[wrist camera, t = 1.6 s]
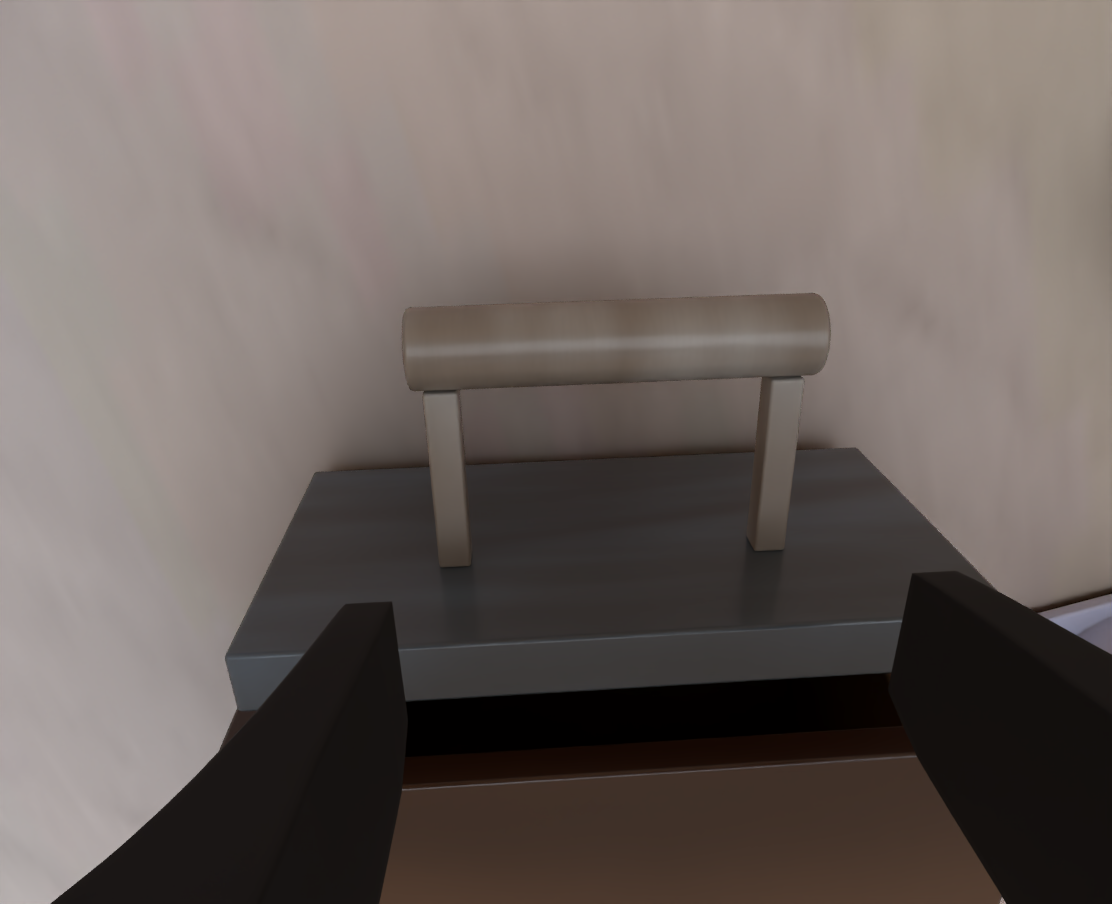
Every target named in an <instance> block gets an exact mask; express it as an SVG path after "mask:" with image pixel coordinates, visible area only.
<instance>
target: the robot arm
mask: <svg viewBox="0 0 1112 904" xmlns="http://www.w3.org/2000/svg"><path fill="white" fill-rule="evenodd" d="M888 692H889V695H890V697H891V699H892V702H893V704H894V706H895V709H896V711H897V713H898V716H899V718H900V720H901V723H902V725H903V728H904V730H905V732H906V734H907V736H908V738H909V740H910V743H911V745H912V747H913V749H914V751H915V753H916V755H917V758H918V760H919V761H920V763H921V765H922V766H923V768H924V770H925V771H926V773H927V775H928V777H929V778H930V780H931V782H932V783H933V785H934V787H935V788H936V790H937V791H938V793H939V795H940V796H941V798H942V800H943V801H944V803H945V805H946V806H947V808H948V810H949V811H950V813H951V815H952V816H953V818H954V819H955V821H956V823H957V824H958V826H959V828H960V829H961V831H962V832H963V834H964V836H965V837H966V839H967V841H968V842H969V844H970V845H971V847H972V849H973V850H974V852H975V853H976V855H977V857H978V858H979V860H980V862H981V863H982V865H983V866H984V868H985V870H986V871H987V873H988V875H989V876H990V878H991V879H992V881H993V883H994V884H995V886H996V887H997V889H998V891H999V892H1000V894H1001V896H1002V897H1003V899H1004V900H1005V902H1006V904H1112V594H1109V595H1105V596H1101V597H1097V598H1094V599H1090V600H1086V601H1082V602H1078V603H1075V604H1071V605H1067V606H1063V607H1059V608H1056V609H1052V610H1048V611H1044V612H1041V613H1036V612H1034V611H1033V610H1031V609H1029V608H1027V607H1025V606H1024V605H1022V604H1020V603H1018V602H1016V601H1015V600H1013V599H1011V598H1009V597H1007V596H1005V595H1003V594H1002V593H1000V592H998V591H996V590H994V589H992V588H990V587H989V586H987V585H985V584H983V583H981V582H979V581H977V580H975V579H973V578H971V577H969V576H966V575H964V574H962V573H960V572H958V571H941V572H922V573H912V576H911V580H910V585H909V590H908V595H907V600H906V605H905V609H904V614H903V619H902V624H901V629H900V633H899V638H898V643H897V648H896V653H895V658H894V662H893V667H892V672H891V677H890V682H889V686H888ZM407 727H408V716H407V708H406V701H405V694H404V686H403V679H402V671H401V664H400V657H399V649H398V642H397V634H396V627H395V620H394V612H393V605H392V601H389V602H370V603H352V604H345V605H344V606H343V607H342V608H341V609H340V610H339V611H338V612H337V613H336V615H335V616H334V617H333V618H332V620H331V621H330V622H329V623H328V625H327V626H326V627H325V628H324V630H323V631H322V632H321V634H320V635H319V636H318V637H317V639H316V640H315V641H314V642H313V644H312V645H311V646H310V647H309V649H308V650H307V651H306V652H305V654H304V655H303V656H302V657H301V659H300V660H299V661H298V662H297V664H296V665H295V666H294V667H293V668H292V670H291V671H290V672H289V673H288V675H287V676H286V677H285V678H284V679H283V680H282V682H281V683H280V684H279V685H278V686H277V687H276V689H275V690H274V691H273V692H272V693H271V694H270V696H269V697H268V698H267V699H266V700H265V701H264V703H263V704H262V705H261V706H260V707H259V708H258V710H257V711H256V712H255V713H254V714H253V715H252V716H251V718H250V719H249V720H248V721H247V722H246V723H245V724H244V725H243V727H242V728H241V729H240V730H239V731H238V732H237V733H236V734H235V735H234V736H233V737H232V738H231V739H230V740H229V741H228V742H227V743H226V745H225V746H224V747H223V748H222V749H221V750H220V751H219V752H218V753H217V754H216V755H215V756H214V757H213V758H212V759H211V760H210V761H209V762H208V764H207V765H206V766H205V767H204V768H203V769H202V770H201V771H200V772H199V773H198V774H197V775H196V776H195V777H194V778H193V779H192V780H191V781H190V782H189V783H188V784H187V785H186V786H185V787H184V788H183V789H182V790H181V791H180V792H179V793H178V794H177V795H176V796H175V797H174V798H173V799H172V800H171V801H170V802H169V803H168V804H167V805H165V806H164V807H163V808H162V809H161V810H160V811H159V812H158V813H157V814H156V815H155V816H154V817H153V818H152V819H151V820H149V821H148V822H147V823H146V824H145V825H144V826H143V827H142V828H141V829H140V830H138V831H137V832H136V833H135V834H134V835H133V836H132V837H131V838H130V839H128V840H127V841H126V842H125V843H124V844H123V845H122V846H121V847H119V848H118V849H117V850H116V851H115V852H114V853H112V854H111V855H110V856H109V857H108V858H107V859H105V860H104V861H103V862H102V863H101V864H99V865H98V866H97V867H96V868H94V869H93V870H92V871H91V872H89V873H88V874H87V875H86V876H84V877H83V878H82V879H81V880H79V881H78V882H77V883H76V884H74V885H73V886H72V887H71V888H69V889H68V890H67V891H66V892H64V893H63V894H62V895H61V896H59V897H58V898H57V899H56V900H54V901H53V902H52V903H51V904H379V902H380V898H381V893H382V888H383V883H384V878H385V873H386V868H387V864H388V859H389V854H390V849H391V844H392V839H393V834H394V829H395V824H396V819H397V814H398V809H399V804H400V799H401V794H402V784H403V773H404V763H405V751H406V739H407Z"/></svg>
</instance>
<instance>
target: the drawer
mask: <svg viewBox="0 0 1112 904" xmlns="http://www.w3.org/2000/svg"><path fill="white" fill-rule="evenodd" d="M830 337H831V329H830V318H829V313H828V309H827V306H826V303H825V301H824V300H823V298H822V297H821V296H820V295H818V294H815V293H799V294H771V295H743V296H715V297H687V298H660V299H632V300H604V301H576V302H548V303H521V304H493V305H465V306H437V307H410V308H407V309H405V312H404V315H403V320H402V352H403V363H404V371H405V376H406V380H407V384H408V386H409V388H410V390H412V391H424V393H423V407H424V417H425V427H426V437H427V447H428V457H429V467H417V468H395V469H373V470H351V471H329V472H316V473H315V474H314V476H313V478H312V480H311V482H310V484H309V486H308V488H307V490H306V492H305V494H304V496H303V498H302V500H301V502H300V504H299V506H298V508H297V510H296V512H295V514H294V517H293V519H292V521H291V523H290V525H289V527H288V529H287V531H286V533H285V535H284V537H283V539H282V541H281V543H280V545H279V547H278V549H277V551H276V553H275V555H274V557H273V559H272V561H271V563H270V565H269V567H268V570H267V572H266V574H265V576H264V578H263V580H262V582H261V584H260V586H259V588H258V590H257V592H256V594H255V596H254V598H253V600H252V602H251V604H250V606H249V608H248V610H247V612H246V614H245V616H244V618H243V621H242V623H241V625H240V627H239V629H238V631H237V633H236V635H235V637H234V639H233V641H232V643H231V645H230V647H229V649H228V651H227V653H226V656H225V661H226V665H227V669H228V672H229V676H230V680H231V684H232V688H233V692H234V696H235V700H236V704H237V708H238V710H239V711H257V710H258V708H259V707H260V706H261V705H262V704H263V703H264V701H265V700H266V699H267V698H268V697H269V696H270V694H271V693H272V692H273V691H274V690H275V689H276V687H277V686H278V685H279V684H280V683H281V682H282V680H283V679H284V678H285V677H286V676H287V675H288V673H289V672H290V671H291V670H292V668H293V667H294V666H295V665H296V664H297V662H298V661H299V660H300V659H301V657H302V656H303V655H304V654H305V652H306V651H307V650H308V649H309V647H310V646H311V645H312V644H313V642H314V641H315V640H316V639H317V637H318V636H319V635H320V634H321V632H322V631H323V630H324V628H325V627H326V626H327V625H328V623H329V622H330V621H331V620H332V618H333V617H334V616H335V615H336V613H337V612H338V611H339V610H340V609H341V608H342V607H343V606H344V605H345V604H352V603H370V602H389V601H392V605H393V612H394V620H395V627H396V634H397V642H398V649H399V657H400V664H401V671H402V679H403V686H404V694H405V701H406V708H407V716H408V727H407V739H406V751H405V757H415V756H431V755H447V754H463V753H479V752H495V751H511V750H526V749H542V748H558V747H574V746H590V745H606V744H622V743H638V742H654V741H670V740H686V739H702V738H718V737H734V736H750V735H766V734H782V733H798V732H814V731H830V730H846V729H862V728H878V727H894V726H903V725H902V723H901V720H900V718H899V716H898V713H897V711H896V709H895V706H894V704H893V702H892V699H891V697H890V695H889V692H888V686H889V682H890V677H891V672H892V667H893V662H894V658H895V653H896V648H897V643H898V638H899V633H900V629H901V624H902V619H903V614H904V609H905V605H906V600H907V595H908V590H909V585H910V580H911V576H912V573H922V572H941V571H958V572H960V573H962V574H964V575H966V576H969V577H971V578H973V579H975V580H977V581H979V582H981V583H983V584H985V585H987V586H989V587H990V588H992V589H994V590H996V589H995V588H994V587H993V586H992V585H991V584H990V583H989V582H988V581H987V580H986V579H985V578H984V577H983V576H982V575H981V574H980V573H979V572H978V571H977V570H976V569H975V568H974V567H973V566H972V565H971V564H970V563H969V562H968V561H967V560H966V559H965V558H964V556H963V555H962V554H961V553H960V552H959V551H958V550H957V549H956V548H955V547H954V546H953V545H952V544H951V543H950V542H949V541H948V540H947V539H946V538H945V537H944V536H943V535H942V534H941V533H940V532H939V531H938V530H937V529H936V528H935V527H934V526H933V525H932V524H931V523H930V522H929V521H928V520H927V519H926V518H925V517H924V516H923V515H922V514H921V513H920V512H919V511H918V510H917V509H916V508H915V507H914V506H913V505H912V504H911V503H910V502H909V500H908V499H907V498H906V497H905V496H904V495H903V494H902V493H901V492H900V491H899V490H898V489H897V488H896V487H895V486H894V485H893V484H892V483H891V482H890V481H889V480H888V479H887V478H886V477H885V476H884V475H883V474H882V473H881V472H880V471H879V470H878V469H877V468H876V467H875V466H874V465H873V464H872V463H871V462H870V461H869V460H868V459H867V458H866V457H865V456H864V455H863V454H862V453H861V452H860V451H859V450H858V449H857V448H834V449H812V450H796V447H797V439H798V431H799V422H800V414H801V406H802V398H803V390H804V382H805V381H804V378H803V377H802V376H803V375H815V374H817V373H818V372H820V371H821V370H822V368H823V367H824V365H825V363H826V360H827V357H828V353H829V347H830ZM754 377H762V381H761V391H760V402H759V412H758V422H757V432H756V443H755V452H747V453H725V454H703V455H681V456H659V457H637V458H615V459H593V460H571V461H549V462H527V463H505V464H483V465H466V463H465V451H464V438H463V425H462V412H461V400H460V390H461V389H486V388H510V387H534V386H559V385H583V384H608V383H632V382H656V381H681V380H705V379H730V378H754ZM996 591H997V590H996Z"/></svg>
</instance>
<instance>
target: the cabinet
mask: <svg viewBox="0 0 1112 904" xmlns="http://www.w3.org/2000/svg"><path fill="white" fill-rule="evenodd" d="M255 712H256V711H239V710H238V708H237V710H236V712H235V715H234V717H233V719H232V722H231V724H230V726H229V729H228V731H227V733H226V736H225V738H224V740H223V743H222V745H221V747H220V750H221V749H222V748H223V747H224V746H225V745H226V743H227V742H228V741H229V740H230V739H231V738H232V737H233V736H234V735H235V734H236V733H237V732H238V731H239V730H240V729H241V728H242V727H243V725H244V724H245V723H246V722H247V721H248V720H249V719H250V718H251V716H252V715H253V714H254V713H255ZM220 750H219V751H220ZM1001 897H1002V896H1001V894H1000V892H999V891H998V889H997V887H996V886H995V884H994V883H993V881H992V879H991V878H990V876H989V875H988V873H987V871H986V870H985V868H984V866H983V865H982V863H981V862H980V860H979V858H978V857H977V855H976V853H975V852H974V850H973V849H972V847H971V845H970V844H969V842H968V841H967V839H966V837H965V836H964V834H963V832H962V831H961V829H960V828H959V826H958V824H957V823H956V821H955V819H954V818H953V816H952V815H951V813H950V811H949V810H948V808H947V806H946V805H945V803H944V801H943V800H942V798H941V796H940V795H939V793H938V791H937V790H936V788H935V787H934V785H933V783H932V782H931V780H930V778H929V777H928V775H927V773H926V771H925V770H924V768H923V766H922V765H921V763H920V761H919V760H918V758H917V755H916V753H915V751H914V749H913V747H912V745H911V743H910V740H909V738H908V736H907V734H906V732H905V730H904V728H903V726H894V727H878V728H862V729H846V730H830V731H814V732H798V733H782V734H766V735H750V736H734V737H718V738H702V739H686V740H670V741H654V742H638V743H622V744H606V745H590V746H574V747H558V748H542V749H526V750H511V751H495V752H479V753H463V754H447V755H431V756H415V757H405V763H404V773H403V784H402V794H401V799H400V804H399V809H398V814H397V819H396V824H395V829H394V834H393V839H392V844H391V849H390V854H389V859H388V864H387V868H386V873H385V878H384V883H383V888H382V893H381V898H380V902H379V904H999V903H1000V900H1001Z"/></svg>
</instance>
